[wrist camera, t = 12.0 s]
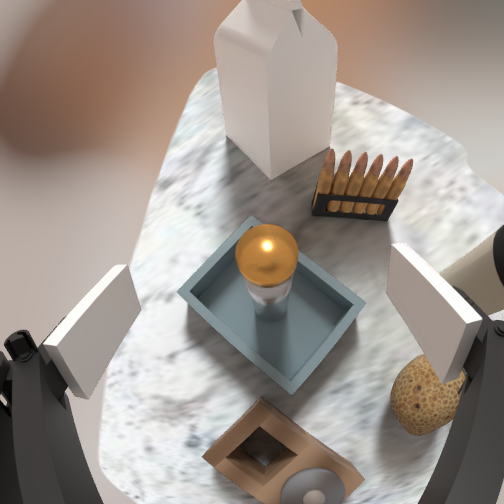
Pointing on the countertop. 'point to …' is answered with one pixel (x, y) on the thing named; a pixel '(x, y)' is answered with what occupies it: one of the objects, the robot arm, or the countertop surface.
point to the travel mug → (481, 273)
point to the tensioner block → (283, 462)
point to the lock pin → (268, 268)
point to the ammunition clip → (359, 188)
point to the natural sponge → (424, 397)
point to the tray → (279, 332)
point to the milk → (276, 82)
